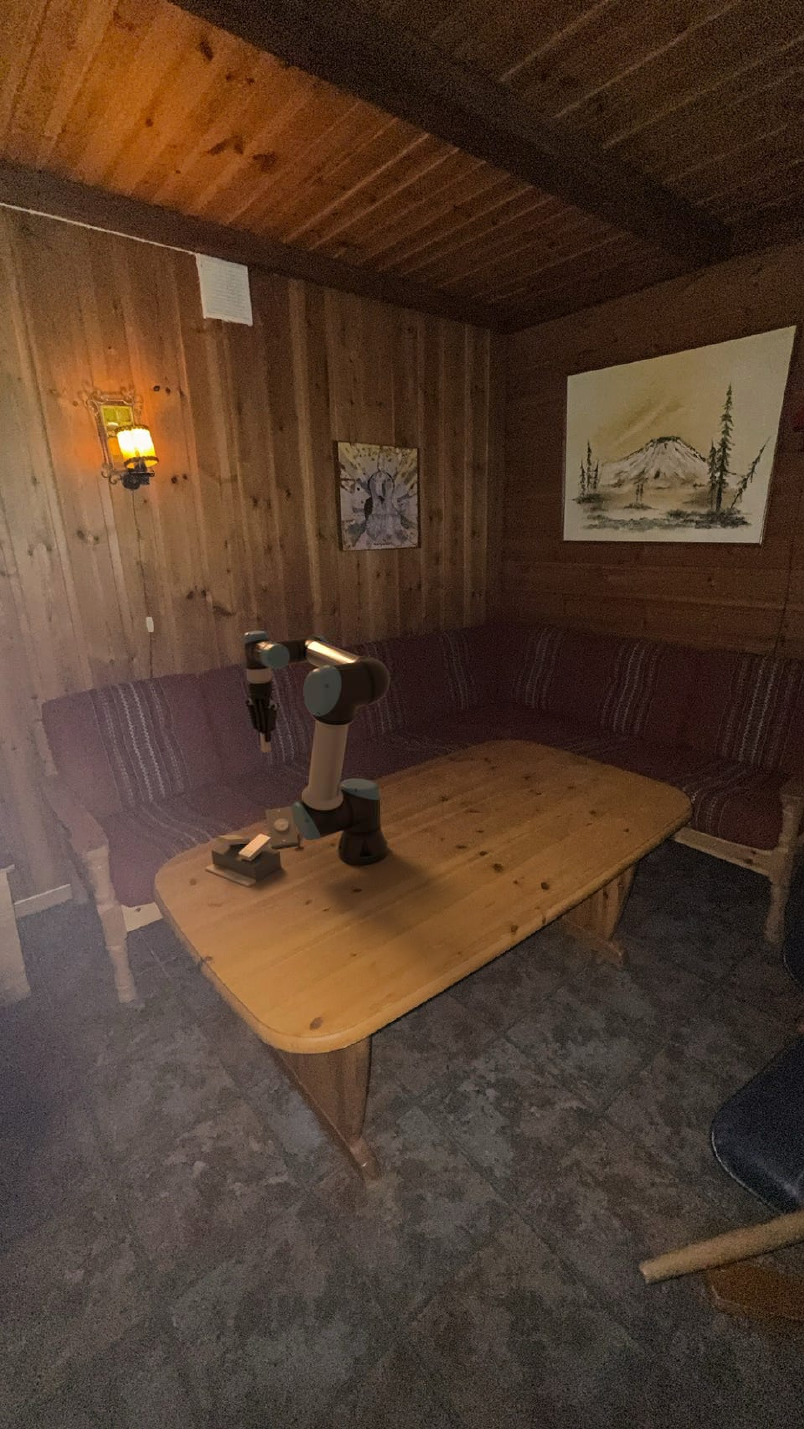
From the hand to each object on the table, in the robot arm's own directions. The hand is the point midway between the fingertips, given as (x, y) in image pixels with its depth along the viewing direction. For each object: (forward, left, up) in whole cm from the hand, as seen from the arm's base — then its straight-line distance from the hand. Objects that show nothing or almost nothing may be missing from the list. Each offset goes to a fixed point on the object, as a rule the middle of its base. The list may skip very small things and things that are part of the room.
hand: (266, 750), depth 203 cm
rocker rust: (-8, +24, -19) cm, 32 cm away
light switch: (-10, +5, -27) cm, 29 cm away
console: (-13, +25, -26) cm, 39 cm away
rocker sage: (-18, +24, -19) cm, 35 cm away
